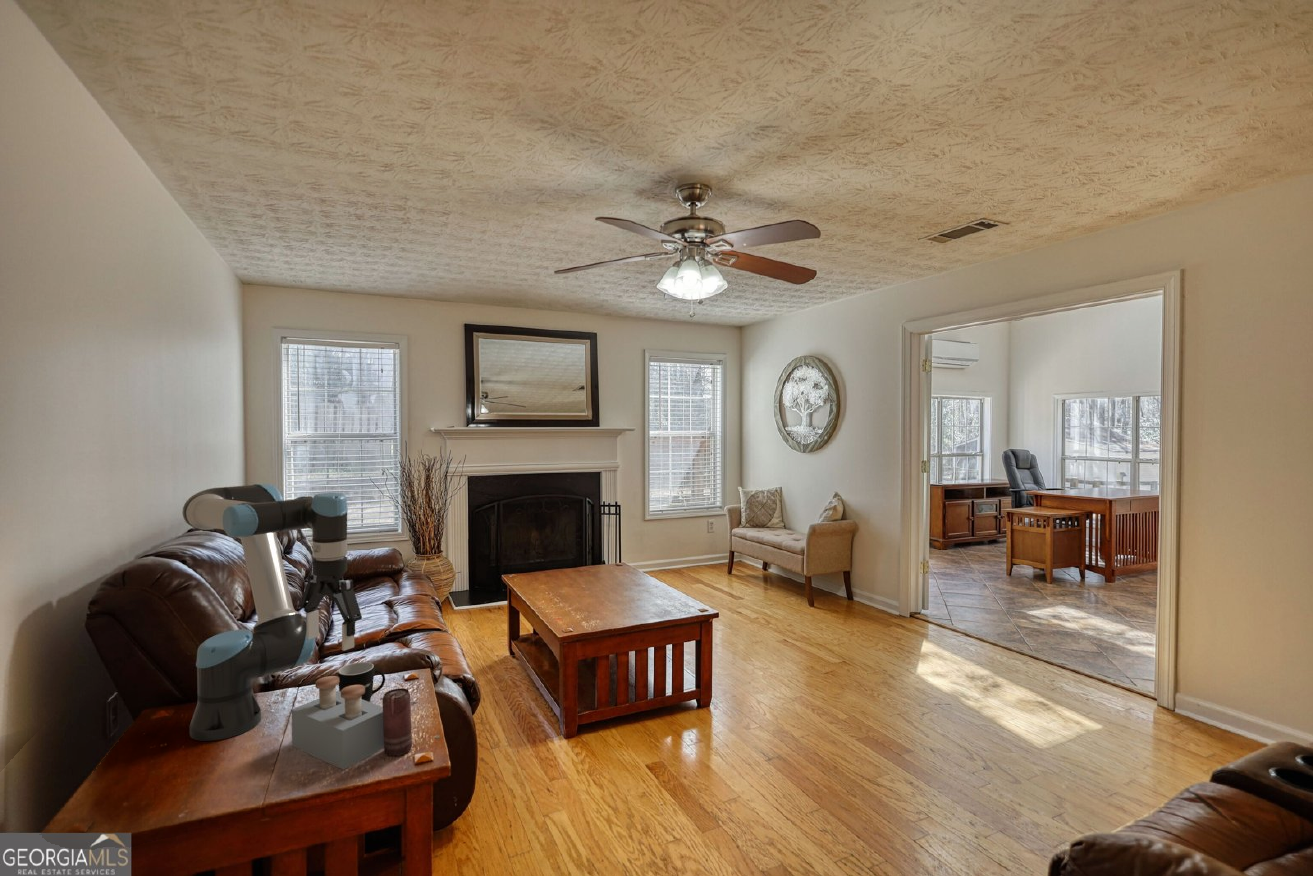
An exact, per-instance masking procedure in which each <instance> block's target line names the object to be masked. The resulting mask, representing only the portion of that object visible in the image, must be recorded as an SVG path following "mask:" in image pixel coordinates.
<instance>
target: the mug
mask: <svg viewBox="0 0 1313 876" xmlns="http://www.w3.org/2000/svg"><path fill="white" fill-rule="evenodd" d="M374 666H375V665H374V664H373V663H371V662H367V661H358V662H352V663H349V664H346V665H343V666H342V667H340V668H339V669H338V671H337V677H339V684H338V691H340V692H341V690H342V689H343V688H345V687H348V686H351V685H363V686H365V693H364V694H363V695H361V699H362V700H365V701H368V702H370V701H371V699H372V696H373V695H374V694H376V693H377V692H379V691H380V690H381V689H382V688H383V686H384V685H385V683H386V676H385V673H384V672H383V671H381V670H379V669H375V667H374ZM375 674H380V675H381V677H382V679H381V680H382V681H381V683H380V685H379V686H378V687H376V688H375V689H374V678H375Z"/></svg>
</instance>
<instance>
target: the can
mask: <svg viewBox="0 0 1313 876" xmlns="http://www.w3.org/2000/svg"><path fill="white" fill-rule="evenodd" d="M382 707H383V731H384V749H383V751H384V754H385V755H386V756H388V757H392V758H393V757H394V758H395V757H400V756H403V755H405V754H407V753H409V751H410V750H411V749H412V746H413V742H412V741H413V738H412V736H413V735H412V710H411V709H412V708H411V694H410V692H409V689H407V688H403V687H402V688H393V689H391V690H388V691H387V692H385V693H384V694H383V697H382Z"/></svg>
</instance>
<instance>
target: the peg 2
mask: <svg viewBox="0 0 1313 876" xmlns="http://www.w3.org/2000/svg"><path fill="white" fill-rule="evenodd" d="M364 693H365V686H363V685H351V686H348V687H345V688H343V689H342V690H341V697H342V698H345V719H347V720H350V721H351V720H353V719H355V718H358V717H360V716H362V703H361V695H363V694H364Z"/></svg>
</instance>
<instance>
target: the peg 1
mask: <svg viewBox="0 0 1313 876" xmlns="http://www.w3.org/2000/svg"><path fill="white" fill-rule="evenodd" d="M337 686H339V677H338V675H331V676H330V675H329V676H324V677H321V678H318V679H317V680H316V681H315V686H314V687H315V688H316V689H318V693H319V695H318V696H319V697H318V699H319V709H322V710H327V709H329V708H332V707H334V706H336V691H337Z"/></svg>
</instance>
